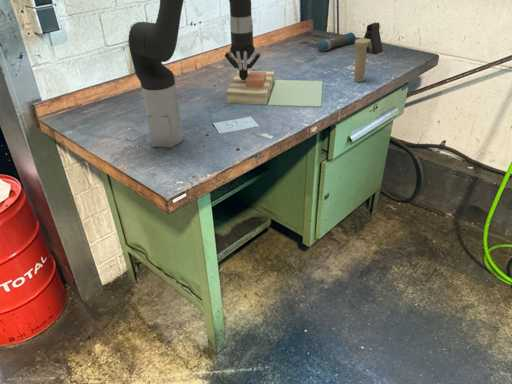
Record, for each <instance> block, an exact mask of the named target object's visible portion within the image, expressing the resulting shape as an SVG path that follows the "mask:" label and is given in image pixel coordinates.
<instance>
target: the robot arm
mask: <svg viewBox="0 0 512 384" xmlns="http://www.w3.org/2000/svg"><path fill="white" fill-rule="evenodd" d="M228 2H229V13H230V14H229V15H230V19H229V28H230V45H231V46H230V48H229V49H230V50H228V51H227V52H225V54H224V57H225V59H226V60H227V61H228V62H229V63H230V65H231V66H232V68H234V69H238V71H239V77H240V78H241V80H246V78H247V76H248V71H249V69H252V68H253V67H254V65H255V63H257V61H258V60H259V58H260V57H261V55H262V54H261V52H258V51H257V50H256V48H255V46H254V31H253V30H254V26H253V16H252V0H228ZM183 5H184V0H159V6H158V7H159V8H158V12H157V18H156V20H155V22H149V21H148V22H147V21H137V22H136V23H134V24H133V25H132V26H131V27H130V29H129V33H128V47H129V51H130V52H129V53H130V56H131V60H132V65H133V68H134V72H135V75H136V78H137V79H138V81H139V82H140V88H141V91H142V92H141V93H142V99H143V103H144V109H145V114H146V120H147V124H148V125H147V126H148V131H149V135H150V141H151V146H152V148H170V149H171V148H174V147H175V146H177V145H179V144H180V143H181V142H182V141H183V140H184V136H183V130H182V129H183V128H182V124H181V116H180V108H179V100H178V95H177V94H178V93H177V87H176V86H177V85H176V80H175V74H174V73H173V71H172V70H170V69H169V68H168V67H166V66H165V65H164V62H165V63H166V62H168V61H170V60H171V58H172V57H173V56H174V53H175V51H176V48H177V42H178V37H179V29H180V23H181V15H182V10H183ZM252 55H253V56H252ZM251 57H253V58H252V60H251V61H250V62H249V59H250V58H251ZM236 59H237V61H236Z"/></svg>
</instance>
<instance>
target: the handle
mask: <svg viewBox="0 0 512 384" xmlns="http://www.w3.org/2000/svg"><path fill="white" fill-rule="evenodd" d="M370 41H371V40H370V39H366V38H364V37H363V38H358V39H355V41H354V46H355V47H357V49H356V56H355V61H354V71H353V72H354V75H353V77H354V82H356V83H363V81H364V77H365V74H366V73H365V72H366V64H367V63H366V62H367V53H366V50H367V47H368V46H369V47H370V45H371V43H370Z"/></svg>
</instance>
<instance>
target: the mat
mask: <svg viewBox="0 0 512 384" xmlns="http://www.w3.org/2000/svg"><path fill="white" fill-rule="evenodd" d="M323 82H324V81H322V80H299V79H298V80H295V79H294V80H293V79H291V80H290V79H288V80H287V79H275V80H274V84H273V87H272V90H271V93H270V96H269V99H268V102H267V106H268V107H269V106H271V107H295V108H296V107H302V108H303V107H305V108H322V97H323Z"/></svg>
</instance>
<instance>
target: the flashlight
mask: <svg viewBox="0 0 512 384" xmlns="http://www.w3.org/2000/svg"><path fill="white" fill-rule="evenodd" d="M355 41H356V35H355V33H354V32H351V31H350V32H347V33H344V34H343V35H340V36H336V37H334V38H330V39H328V38H325V39H322V40H320V41H319V42H318V44H317V50H318V51H320V52H321V53H324V52H327V51H329V50H331V49H333V48H337V47H340V46H345V45H350V44H352V43H355Z"/></svg>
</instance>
